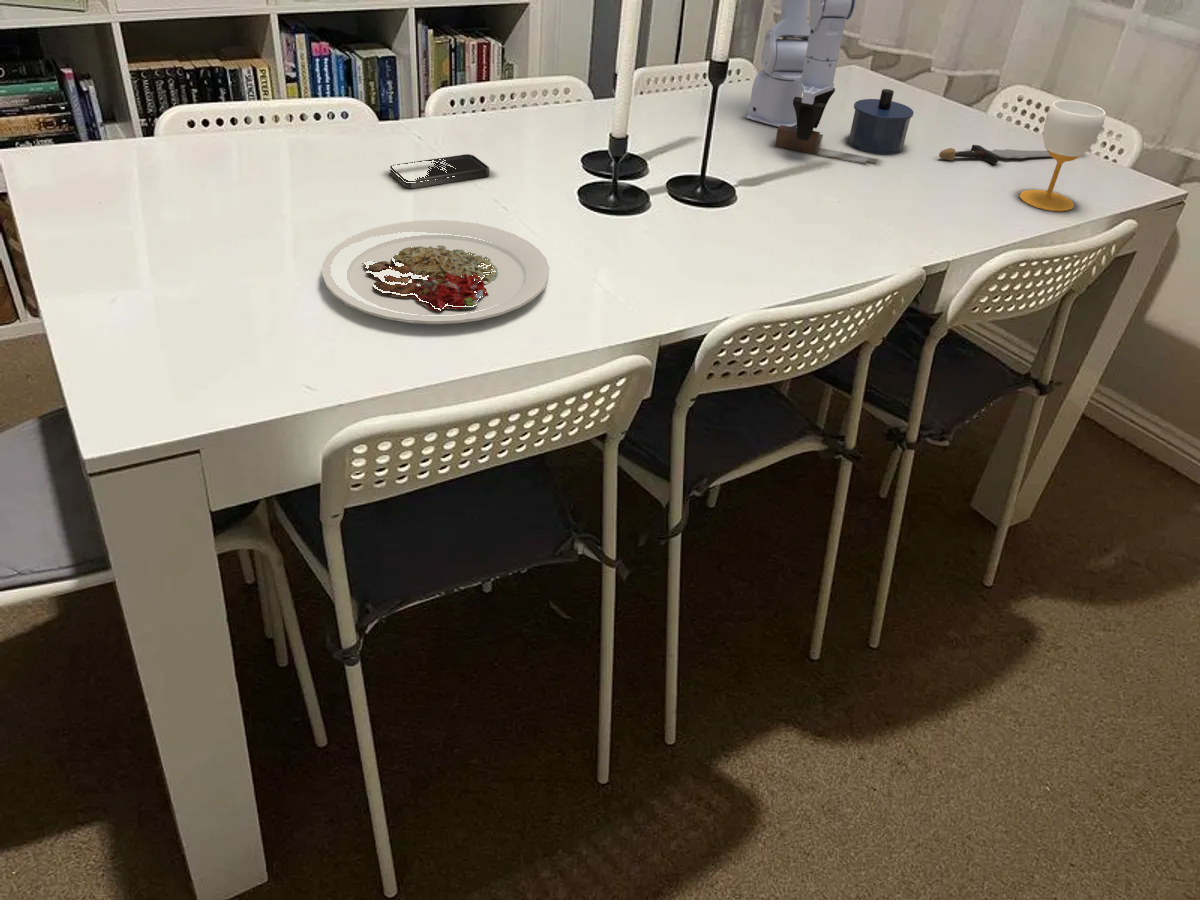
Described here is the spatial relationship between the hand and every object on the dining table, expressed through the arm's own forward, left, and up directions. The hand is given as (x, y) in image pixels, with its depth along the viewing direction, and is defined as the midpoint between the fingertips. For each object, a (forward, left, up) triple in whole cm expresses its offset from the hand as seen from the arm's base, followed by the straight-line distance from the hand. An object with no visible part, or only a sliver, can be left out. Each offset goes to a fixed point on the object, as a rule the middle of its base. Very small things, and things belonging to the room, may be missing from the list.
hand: (807, 132), depth 183 cm
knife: (+3, +1, -3) cm, 5 cm away
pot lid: (+9, +13, +3) cm, 16 cm away
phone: (-37, -58, -3) cm, 69 cm away
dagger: (+31, +27, -3) cm, 41 cm away
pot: (+9, +13, -3) cm, 16 cm away
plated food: (-11, -85, -3) cm, 86 cm away
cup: (+43, +9, -3) cm, 44 cm away
